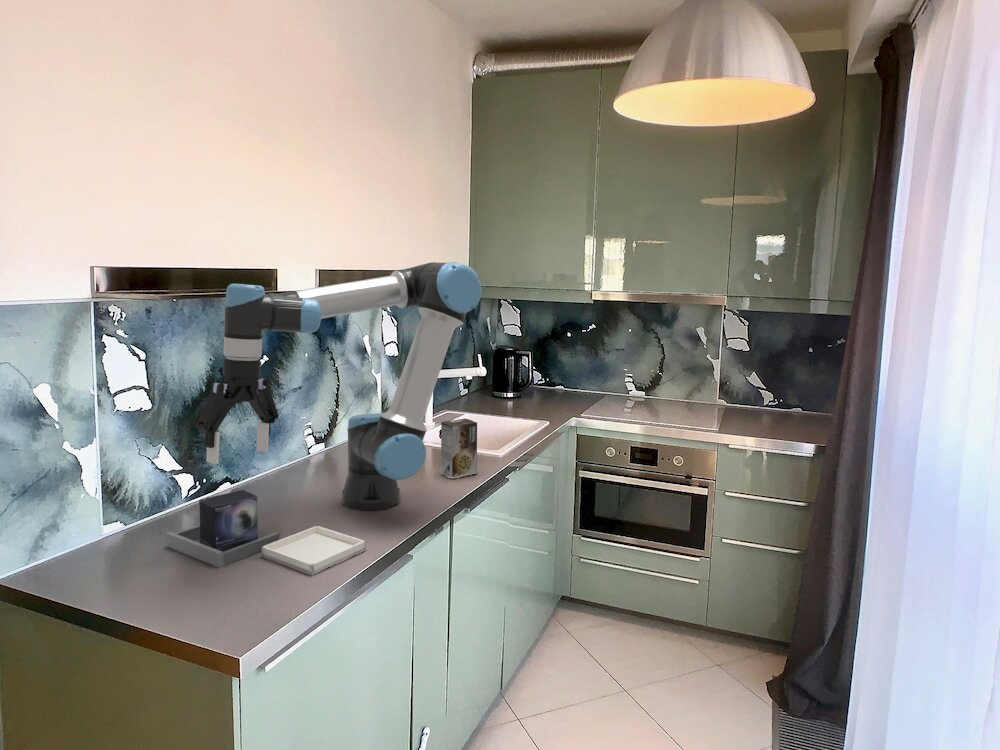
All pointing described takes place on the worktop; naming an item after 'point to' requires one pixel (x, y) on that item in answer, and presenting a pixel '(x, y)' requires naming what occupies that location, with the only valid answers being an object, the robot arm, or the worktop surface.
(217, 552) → the bay
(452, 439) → the coffee box
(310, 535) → the tray
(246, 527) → the small box
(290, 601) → the worktop surface
